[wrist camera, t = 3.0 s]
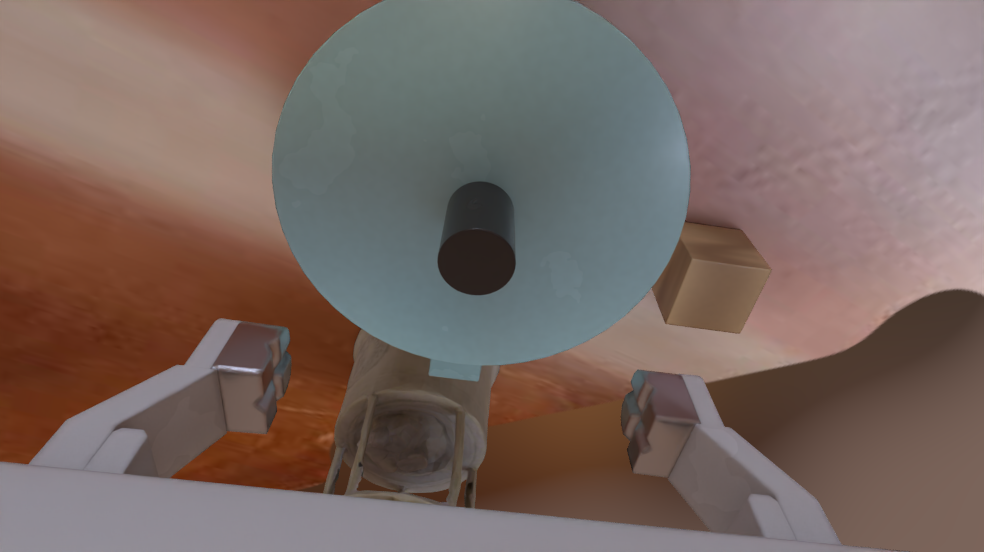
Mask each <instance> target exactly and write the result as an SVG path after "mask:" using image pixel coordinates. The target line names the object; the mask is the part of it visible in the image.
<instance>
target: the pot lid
mask: <svg viewBox="0 0 984 552" xmlns="http://www.w3.org/2000/svg"><path fill="white" fill-rule="evenodd" d="M690 168H691V166H690V158H689V151H688V143H687V138H686V134H685V131H684V127H683V124H682V121H681V117H680V114H679V111H678V109H677V107H676V105H675V103H674V100H673V98H672V96H671V94H670V92H669V90H668V87H667V86H666V84H665V83H664V81H663V80H662V78H661V77H660V75H659V74H658V72H657V71H656V69H655V68H654V66H653V65H652V63H651V62H650V61H649V60H648V59H647V58H646V56H645V55H644V54H643V53H642V52H641V51H640V50H639V49H638V48H637V46H636V45H635V44H634V43H633V42H632V41H631V40H630V39H629V38H628V37H627V36H626V35H625V34H623V33H622V32H621V31H620V30H618V29H617V28H616V27H615V26H614V25H612V24H611V23H610V22H609V21H608V20H606V19H605V18H604V17H602V16H600V15H599V14H597V13H595V12H594V11H592V10H590V9H589V8H587V7H585V6H584V5H582V4H580V3H579V2H577V1H575V0H383V1H381V2H379V3H377V4H375V5H374V6H372V7H370V8H368V9H366V10H365V11H363V12H361V13H360V14H358V15H357V16H356V17H354V18H353V19H352V20H350V21H349V22H348V23H346V24H345V25H344V26H343V27H341V28H340V29H339V30H337V31H336V32H335V33H333V34H332V36H331V37H330V38H329V39H328V40H327V41H326V42H325V43H324V44H323V45H322V46H321V47H320V48H319V49H318V50H317V51H316V52H315V53H314V54H313V56H312V57H311V58H310V60H309V61H308V63H307V64H306V66H305V67H304V68H303V70H302V71H301V73H300V74H299V76H298V77H297V79H296V81H295V83H294V85H293V87H292V89H291V91H290V93H289V95H288V97H287V99H286V101H285V103H284V106H283V109H282V112H281V116H280V119H279V122H278V125H277V129H276V134H275V141H274V147H273V154H272V184H273V191H274V198H275V205H276V209H277V213H278V216H279V220H280V223H281V227H282V230H283V233H284V235H285V237H286V240H287V242H288V244H289V246H290V249H291V251H292V253H293V255H294V257H295V258H296V260H297V262H298V263H299V265H300V267H301V268H302V270H303V272H304V273H305V275H306V276H307V277H308V278H309V280H310V281H311V282H312V284H313V285H314V286H315V288H316V289H317V290H318V291H319V292H320V294H321V295H322V296H323V297H324V298H325V299H326V300H327V301H328V302H329V303H330V304H331V305H332V306H333V307H334V308H335V309H336V310H338V311H339V312H340V313H341V314H342V315H344V316H345V317H346V318H347V319H349V320H350V321H351V322H352V323H354V324H355V325H357V326H358V327H360V328H361V329H363V330H364V331H366V332H367V333H369V334H371V335H372V336H374V337H376V338H378V339H380V340H382V341H384V342H386V343H388V344H390V345H392V346H394V347H397V348H399V349H402V350H404V351H407V352H409V353H412V354H415V355H419V356H422V357H426V358H429V359H433V360H437V361H443V362H449V363H455V364H465V365H478V366H483V365H506V364H514V363H523V362H528V361H532V360H536V359H541V358H545V357H548V356H551V355H554V354H557V353H560V352H563V351H566V350H569V349H571V348H573V347H575V346H577V345H580V344H582V343H584V342H586V341H588V340H590V339H591V338H593V337H595V336H597V335H598V334H600V333H602V332H603V331H605V330H607V329H608V328H609V327H611V326H612V325H613V324H615V323H616V322H617V321H619V320H620V319H621V318H623V317H624V316H625V315H626V314H627V313H628V312H629V311H630V310H631V309H632V308H633V307H635V306H636V305H637V304H638V303H639V302H640V301H641V300H642V299H643V297H644V296H645V295H646V294H647V293H648V291H649V290H650V289H651V288H652V286H653V285H654V284H655V283H656V281H657V280H658V278H659V277H660V275H661V274H662V272H663V270H664V269H665V267H666V266H667V264H668V263H669V260H670V258H671V256H672V254H673V252H674V250H675V248H676V245H677V243H678V241H679V238H680V235H681V232H682V228H683V225H684V222H685V219H686V214H687V208H688V202H689V196H690Z"/></svg>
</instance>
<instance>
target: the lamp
mask: <svg viewBox="0 0 984 552" xmlns="http://www.w3.org/2000/svg"><path fill="white" fill-rule="evenodd" d="M353 359H354V365H353V368H352V371H351V374H350V377H349V381H348V386H347V391H346V395H345V398H344V401H343V405H342V408H341V410H340V413H339V416H338V419H337V422H336V425H335V437H334V439H335V443H336V451H335V456H334V459H333V462H332V464H331V467H330V470H329V473H328V476H327V480H326V484H325V488H324V492H323V494H331V495H333V493H334V489H335V483H336V481H337V479H338V476H339V471H340V466H341V462H342V458H343V460H344V461H345V463H346V464H347V465H348V466H349V467H350V468H352V471H351V475H350V479H349V483H348V487H347V491H346V493H345V495H343V496H352V497H362V498H372V499H382V500H392V501H402V502H413V503H423V504H433V505H443V506H453V507H456V503H457V498H458V495H459V490H460V486H461V482H463V481H464V480H465V479H467V482H466V488H465V494H464V499H465V507H466V508H475V494H476V476H477V469H478V467H479V466H480V464H481V462H482V461H483V460H484V456H485V453H486V447H487V425H488V414H489V404H490V393H491V387H492V385H493V383H494V381H495V379H496V376H497V375H498V373H499V368H500V365H483V366H482V367H481V373H480V378H479V381H477V382H476V381H468V380H460V379H452V378H444V377H436V376H429V374H428V373H429V364H430V359H429V358H426V357H422V356H419V355H415V354H412V353H409V352H407V351H404V350H402V349H399V348H397V347H394V346H392V345H390V344H388V343H386V342H384V341H382V340H380V339H378V338H376V337H374V336H372V335H371V334H369V333H367V332H366V331H364V330H363V329H361V330H360V332H359V334H358V337H357V339H356V342H355V344H354V352H353ZM361 476H362V477H364V478H365V479H367V480H369V481H370V482H372V483H374V484H377V485H380V486H382V487H386V488H388V489H393V490H396V491H398V493H396V492H383V491H357V489H356V488H358V483H359V482H360V481H361ZM447 488H449V495H448V497H447V499H446V500H447V502H441V503H440V502H437V501H434V500H431V499H428V498H424V497H420V496H416V495H413V494H409V493H423V492H436V491H441V490H445V489H447ZM406 492H409V493H406Z"/></svg>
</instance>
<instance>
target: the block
mask: <svg viewBox="0 0 984 552" xmlns="http://www.w3.org/2000/svg"><path fill="white" fill-rule="evenodd" d="M771 271H772V269H771V268H770V267H769V265H768V264H767V263H766V261H765V260H764V259H763V257H762V256H761V255H760V253H759V252H758V251H757V249H756V248H755V247H754V245H753V244H752V243H751V241H750V240H749V239H748V237H747V236H746V235H745V233H744V232H743V231H742V230H736V229H729V228H722V227H716V226H709V225H702V224H695V223H688V222H684V225H683V228H682V232H681V235H680V238H679V241H678V243H677V245H676V248H675V250H674V252H673V254H672V256H671V258H670V260H669V263H668V264H667V266H666V267H665V269H664V270H663V272H662V274H661V275H660V277H659V278H658V280H657V281H656V283H655V284H654V285H653V286H652V290H653V293H654V296H655V298H656V301H657V303H658V306H659V308H660V311H661V313H662V316H663V319H664V321H665V323H666V324H670V325H678V326H685V327H693V328H700V329H708V330H715V331H723V332H730V333H738V334H739V333H740V332H741V330H742V328H743V326H744V324H745V322H746V320H747V318H748V316H749V315H750V313H751V311H752V309H753V307H754V305H755V303H756V301H757V299H758V297H759V295H760V293H761V291H762V289H763V287H764V285H765V283H766V281H767V279H768V277H769V275H770V273H771Z"/></svg>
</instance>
